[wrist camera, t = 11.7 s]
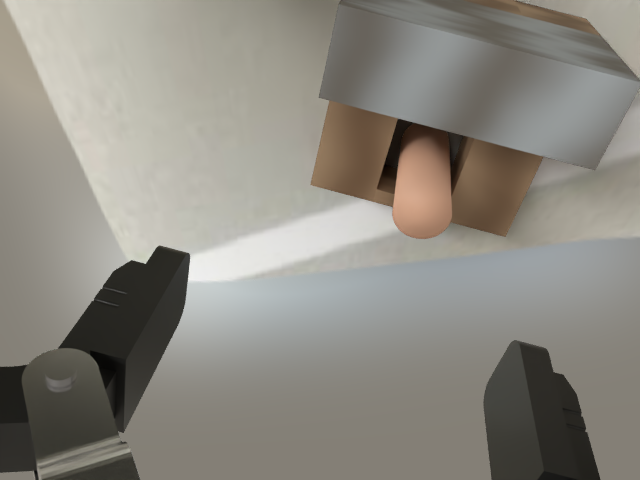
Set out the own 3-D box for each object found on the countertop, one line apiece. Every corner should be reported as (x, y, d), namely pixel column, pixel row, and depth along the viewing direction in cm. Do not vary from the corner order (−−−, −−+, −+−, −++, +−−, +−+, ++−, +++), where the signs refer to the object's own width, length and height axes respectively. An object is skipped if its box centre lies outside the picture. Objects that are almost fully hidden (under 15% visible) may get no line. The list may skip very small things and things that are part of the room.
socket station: (319, 160, 44) (286, 249, 34) (365, -38, 36) (338, 4, 26) (500, 207, 44) (518, 311, 34) (586, 18, 36) (642, 82, 26)
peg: (408, 115, 41) (401, 181, 33) (455, 127, 41) (460, 197, 33) (395, 157, 43) (385, 230, 35) (440, 169, 43) (441, 245, 35)
